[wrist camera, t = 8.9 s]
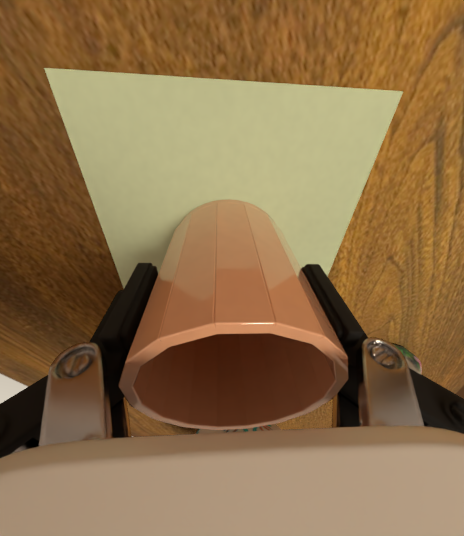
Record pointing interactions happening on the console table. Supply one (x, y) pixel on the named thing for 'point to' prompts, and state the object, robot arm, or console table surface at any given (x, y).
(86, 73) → the mat
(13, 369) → the console table surface
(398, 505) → the robot arm
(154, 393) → the cup
